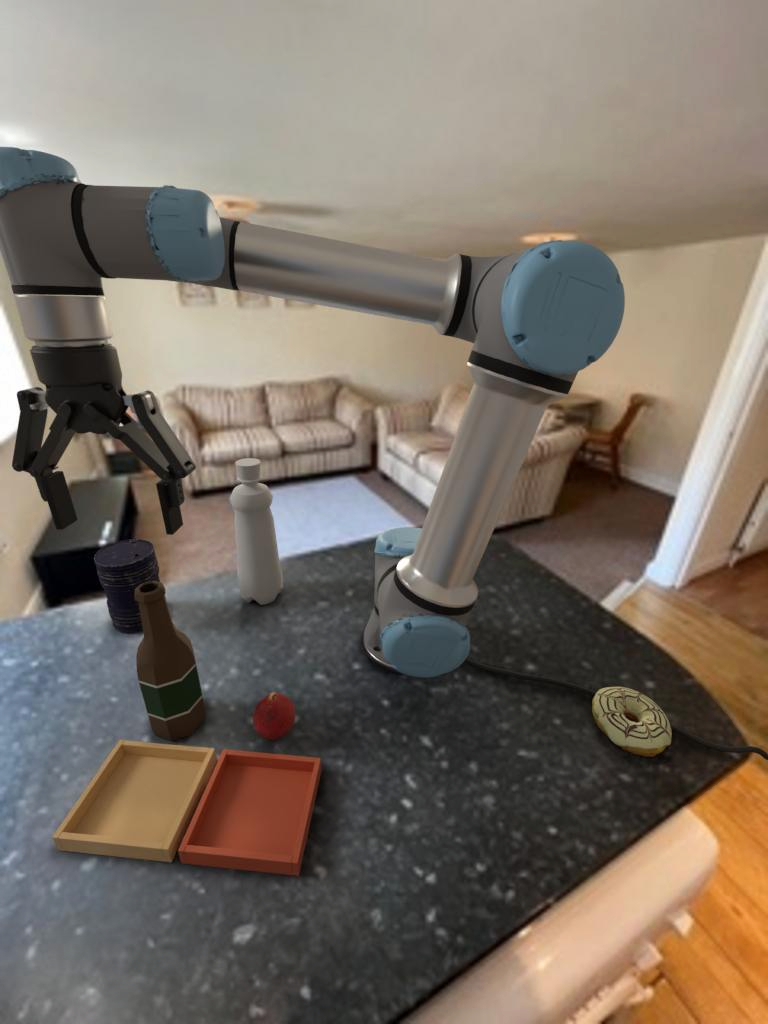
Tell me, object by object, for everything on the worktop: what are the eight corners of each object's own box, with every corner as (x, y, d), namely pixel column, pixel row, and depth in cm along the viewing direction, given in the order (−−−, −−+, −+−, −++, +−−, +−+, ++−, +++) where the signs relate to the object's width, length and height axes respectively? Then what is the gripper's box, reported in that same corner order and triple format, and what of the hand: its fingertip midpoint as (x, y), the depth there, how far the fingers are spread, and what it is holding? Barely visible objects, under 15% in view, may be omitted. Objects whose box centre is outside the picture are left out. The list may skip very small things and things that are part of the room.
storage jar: (100, 626, 85) (75, 544, 78) (141, 598, 94) (122, 521, 86) (140, 639, 82) (118, 555, 75) (179, 609, 91) (163, 530, 83)
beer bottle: (162, 700, 70) (129, 570, 60) (213, 697, 71) (189, 569, 61) (142, 744, 63) (101, 606, 53) (199, 741, 64) (169, 604, 54)
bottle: (231, 604, 93) (212, 467, 80) (252, 580, 101) (237, 452, 88) (272, 611, 91) (259, 472, 78) (290, 586, 99) (281, 457, 86)
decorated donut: (612, 762, 63) (618, 744, 61) (577, 700, 72) (582, 683, 71) (682, 758, 64) (691, 740, 62) (638, 698, 73) (644, 681, 72)
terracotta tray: (321, 770, 61) (321, 757, 59) (298, 876, 49) (297, 863, 48) (225, 761, 61) (223, 748, 60) (181, 863, 50) (177, 850, 49)
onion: (287, 756, 62) (283, 715, 59) (248, 747, 63) (242, 707, 60) (302, 721, 67) (299, 682, 64) (266, 714, 68) (262, 675, 65)
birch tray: (217, 760, 61) (215, 748, 60) (171, 862, 50) (167, 849, 49) (123, 751, 62) (119, 739, 61) (58, 850, 51) (51, 837, 50)
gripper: (207, 342, 49) (232, 518, 58) (-13, 336, 50) (45, 509, 59) (174, 349, 42) (208, 546, 51) (-80, 342, 43) (-3, 536, 52)
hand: (121, 527), depth 55 cm, fingers open, 13 cm apart
